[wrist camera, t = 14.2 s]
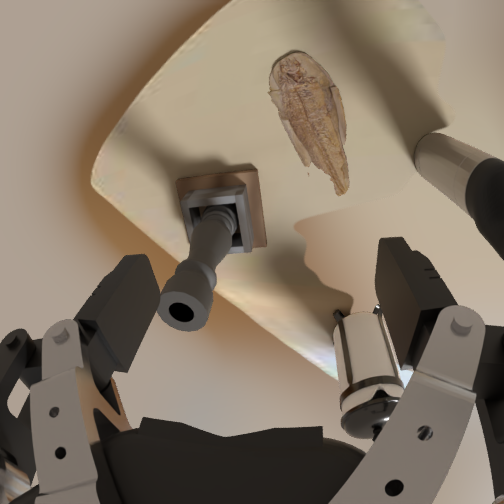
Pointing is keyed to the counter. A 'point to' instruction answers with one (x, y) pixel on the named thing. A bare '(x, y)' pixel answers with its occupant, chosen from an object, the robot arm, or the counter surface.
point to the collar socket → (224, 192)
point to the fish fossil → (312, 115)
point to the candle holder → (199, 270)
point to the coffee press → (365, 373)
